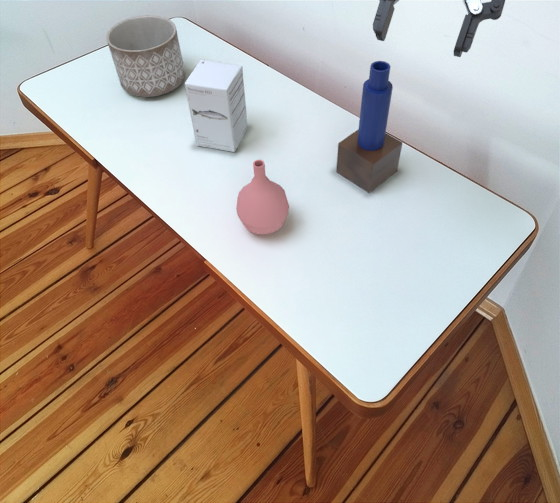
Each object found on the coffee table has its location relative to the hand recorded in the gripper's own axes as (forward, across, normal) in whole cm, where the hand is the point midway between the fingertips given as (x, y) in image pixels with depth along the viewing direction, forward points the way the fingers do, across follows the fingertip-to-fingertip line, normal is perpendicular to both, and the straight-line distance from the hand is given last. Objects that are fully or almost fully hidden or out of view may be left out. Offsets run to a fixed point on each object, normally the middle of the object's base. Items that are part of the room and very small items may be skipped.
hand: (417, 46), depth 56 cm
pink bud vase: (+25, -16, +14) cm, 33 cm away
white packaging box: (+15, -32, +25) cm, 43 cm away
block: (+13, -6, +26) cm, 30 cm away
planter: (+8, -54, +31) cm, 62 cm away
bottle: (+9, -6, +22) cm, 24 cm away
